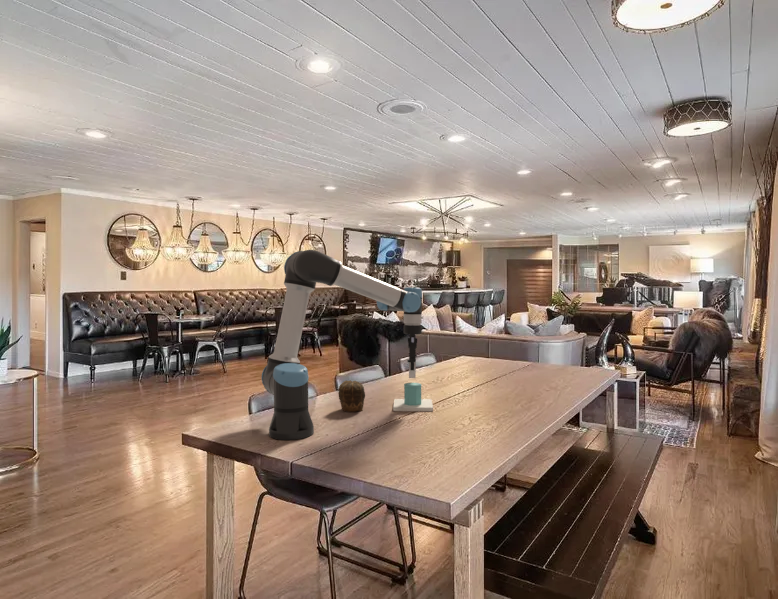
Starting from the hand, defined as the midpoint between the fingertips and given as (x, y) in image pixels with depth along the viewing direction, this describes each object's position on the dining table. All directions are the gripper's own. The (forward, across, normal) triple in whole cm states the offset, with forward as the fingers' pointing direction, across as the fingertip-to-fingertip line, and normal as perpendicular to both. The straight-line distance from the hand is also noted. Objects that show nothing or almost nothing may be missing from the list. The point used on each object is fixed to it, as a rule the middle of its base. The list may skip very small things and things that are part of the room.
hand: (412, 375), depth 210 cm
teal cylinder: (+12, 0, 0) cm, 12 cm away
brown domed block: (+14, -6, +24) cm, 29 cm away
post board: (+13, 0, 0) cm, 13 cm away
